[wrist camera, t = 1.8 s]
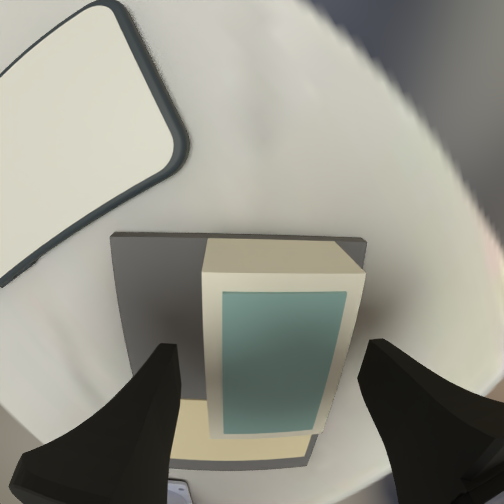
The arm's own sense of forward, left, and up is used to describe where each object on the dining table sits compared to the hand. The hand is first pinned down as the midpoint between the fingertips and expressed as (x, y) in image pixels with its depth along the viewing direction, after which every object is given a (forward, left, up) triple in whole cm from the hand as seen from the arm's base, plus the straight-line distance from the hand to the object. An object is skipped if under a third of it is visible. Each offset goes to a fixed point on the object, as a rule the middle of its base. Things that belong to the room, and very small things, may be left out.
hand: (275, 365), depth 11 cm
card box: (0, 0, -3) cm, 3 cm away
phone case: (+7, +12, -4) cm, 14 cm away
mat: (-5, +1, -3) cm, 6 cm away
